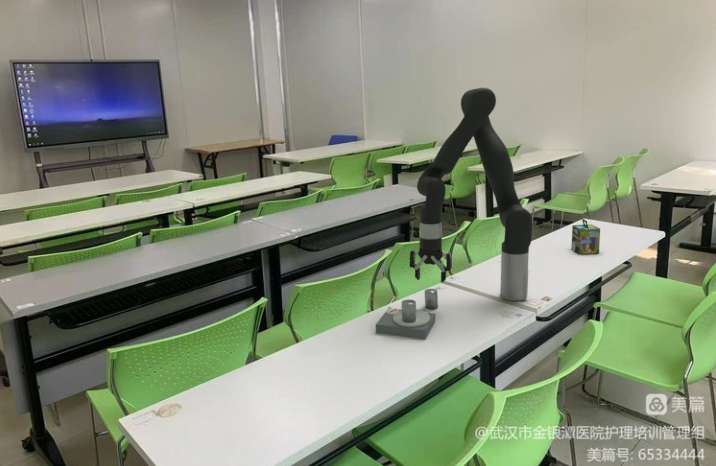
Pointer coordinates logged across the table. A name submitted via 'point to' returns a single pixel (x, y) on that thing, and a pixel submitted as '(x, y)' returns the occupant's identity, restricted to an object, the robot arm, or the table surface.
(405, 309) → the cylinder
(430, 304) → the cylinder
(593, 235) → the colorful box with handle
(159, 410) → the table surface
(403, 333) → the scale
